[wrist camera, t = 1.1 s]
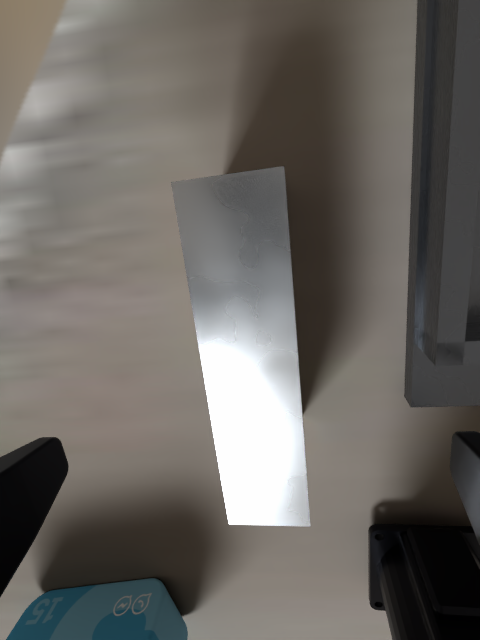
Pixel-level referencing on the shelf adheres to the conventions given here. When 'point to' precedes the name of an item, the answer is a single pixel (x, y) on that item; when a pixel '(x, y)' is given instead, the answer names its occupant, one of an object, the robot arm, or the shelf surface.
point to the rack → (445, 209)
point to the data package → (103, 614)
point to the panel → (247, 339)
